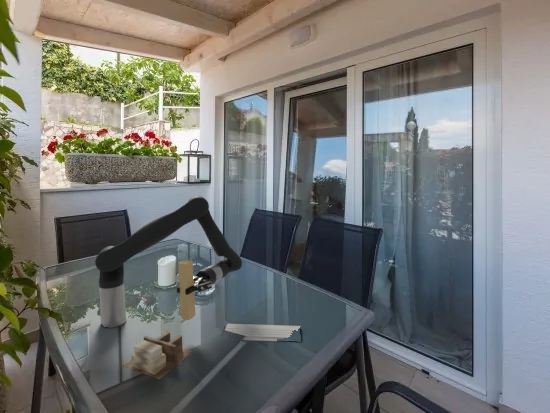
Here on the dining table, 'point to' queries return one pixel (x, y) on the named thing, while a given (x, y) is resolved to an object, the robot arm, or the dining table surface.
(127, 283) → the dining table surface
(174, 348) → the rack
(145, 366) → the offcut low
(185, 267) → the slat
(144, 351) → the offcut top
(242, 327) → the baseboard molding
